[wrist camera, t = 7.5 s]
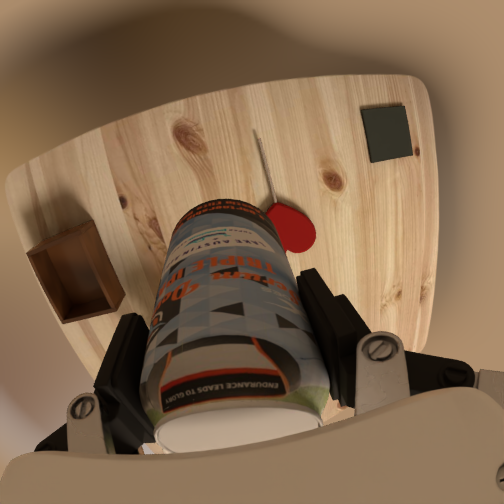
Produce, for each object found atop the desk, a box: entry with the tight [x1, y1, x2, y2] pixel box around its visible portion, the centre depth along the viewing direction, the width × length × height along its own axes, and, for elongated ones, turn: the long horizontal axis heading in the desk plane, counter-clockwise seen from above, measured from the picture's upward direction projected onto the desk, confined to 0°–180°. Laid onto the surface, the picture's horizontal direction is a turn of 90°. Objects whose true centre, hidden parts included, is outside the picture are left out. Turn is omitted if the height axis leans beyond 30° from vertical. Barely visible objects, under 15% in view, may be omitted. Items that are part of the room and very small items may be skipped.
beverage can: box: [139, 199, 330, 453], centre depth 12 cm, size 6×7×12 cm
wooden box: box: [26, 220, 126, 324], centre depth 33 cm, size 11×10×4 cm
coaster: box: [361, 106, 413, 163], centre depth 33 cm, size 7×7×1 cm
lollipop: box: [258, 138, 316, 253], centre depth 34 cm, size 8×1×15 cm
